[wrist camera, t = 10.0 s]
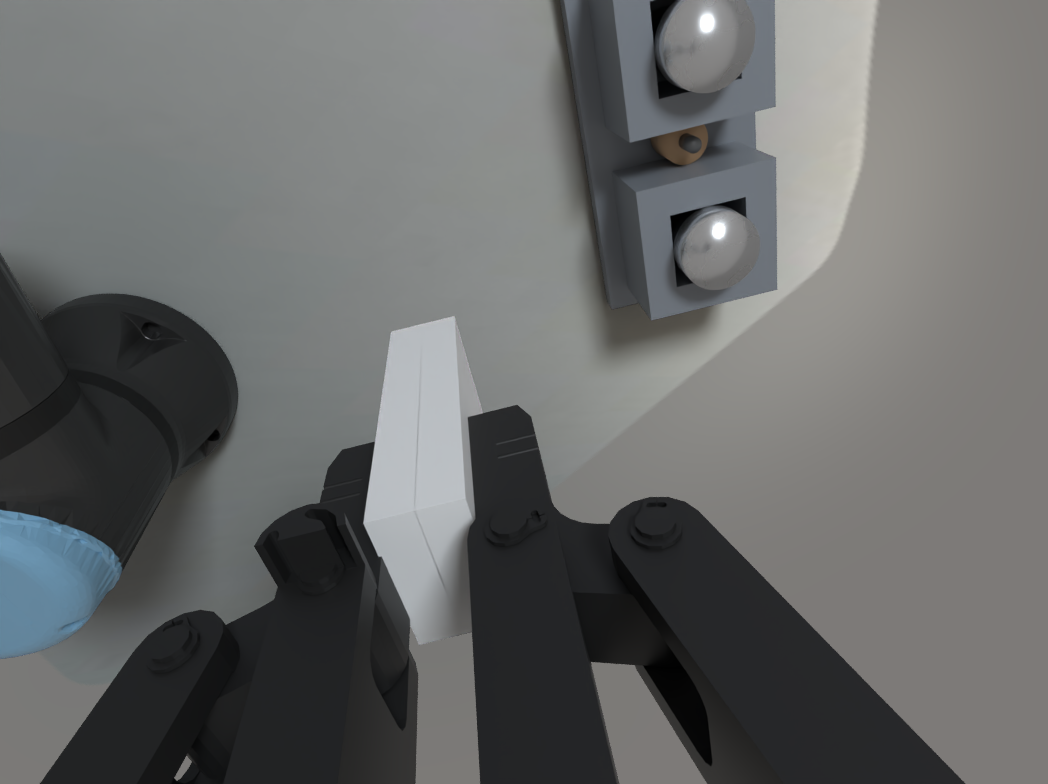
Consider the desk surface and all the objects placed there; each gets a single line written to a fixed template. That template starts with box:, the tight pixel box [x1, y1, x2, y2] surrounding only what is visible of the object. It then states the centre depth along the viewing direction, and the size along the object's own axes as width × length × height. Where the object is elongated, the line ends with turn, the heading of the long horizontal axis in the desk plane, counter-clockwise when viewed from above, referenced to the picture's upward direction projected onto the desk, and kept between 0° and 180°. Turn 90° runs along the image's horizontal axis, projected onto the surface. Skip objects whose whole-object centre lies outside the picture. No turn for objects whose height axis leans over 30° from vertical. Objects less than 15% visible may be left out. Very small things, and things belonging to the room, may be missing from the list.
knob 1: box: [651, 0, 755, 93], centre depth 38 cm, size 5×5×8 cm
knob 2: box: [670, 205, 760, 290], centre depth 44 cm, size 5×5×8 cm
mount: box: [560, 0, 777, 320], centre depth 43 cm, size 12×24×8 cm, turn 12°
